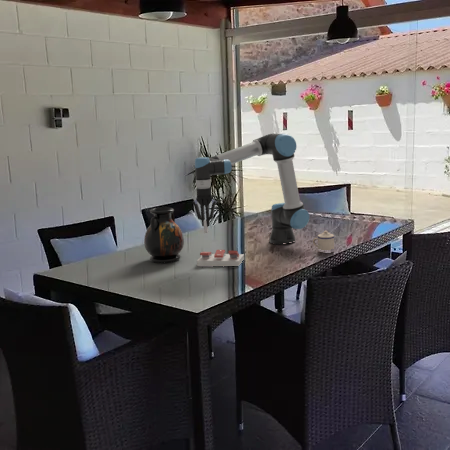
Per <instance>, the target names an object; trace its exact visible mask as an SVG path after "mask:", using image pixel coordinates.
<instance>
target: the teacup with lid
mask: <svg viewBox="0 0 450 450" xmlns="http://www.w3.org/2000/svg"><path fill="white" fill-rule="evenodd" d="M316 240H317V243H316ZM312 243H313V245H314V247H317V250H318V249H321V250H331V249H334V250H335V235H334V233H333V234H332V233H330V232H329V231H328V230H324V231H323V232H321V233H319V234H318V235H317V237H315V238H313V240H312Z"/></svg>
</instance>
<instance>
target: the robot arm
mask: <svg viewBox="0 0 450 450" xmlns="http://www.w3.org/2000/svg"><path fill="white" fill-rule="evenodd" d="M296 151H297V142H296V140H295V138H294V137H293V136H292V135H290V134H286V133H270V134H266V135H263V136H260V137H258V138H256V139H254V140H253V139H252V142H249V143H247V144H244V145H242V146H239V147H236V148H234V149H230V150H227V151H225V152H222V153H219V154H216V155H214V156H211V157H207V156H205V157H200V156H199V157H196V158H195V160H194V168H195V170H194V171H195V186H196V198H195V200H193V201H192V202H191V204H192V206H194V210H195V213H196V216H197V219H198V220H200V221H201V227H203V231H204V232H203V233H204V234H208V233H209V227H210V225H211V224H210V220H213V218H214V214H215V208H216V204H217V203H218V201H217V200H215V199H213V197H212V188H211V186H212V185H211V184H212V183H211V182H212V181H211V176H215V175H226V174H229V173H231V172H232V168H233V167H232V165H234V164H238V163H239V162H242V161H245V160H248V159H250V158H252V157H255V156H257V157H261V156H265V155H272V159H273V161H274V162H275V163H276V165H277V171H278V175H279V180H280V187H281V191H282V195H283V201H284V202H281V203H280V202H279V203H275V204H272V205H271V210H270V211H271V232H270V235H269V243H270V244H272V243H274V245H284V244H283V243H289V242H293V241H295V242H296V235H295V232H294V230H293V229H295V230H301V229H304V228H306V226H307V225H308V223H309V222H310V213H309V212H308V210H307V209H305V205H304V202H302V201H301V198H300V193H299V189H298V188H299V187H298V181H297V178H296V173H295V172H296V171H295V166H294V162H293V159H294V158H295V153H296ZM198 204H199V205H200V208H199V205H198ZM210 205H211V208H210Z"/></svg>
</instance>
